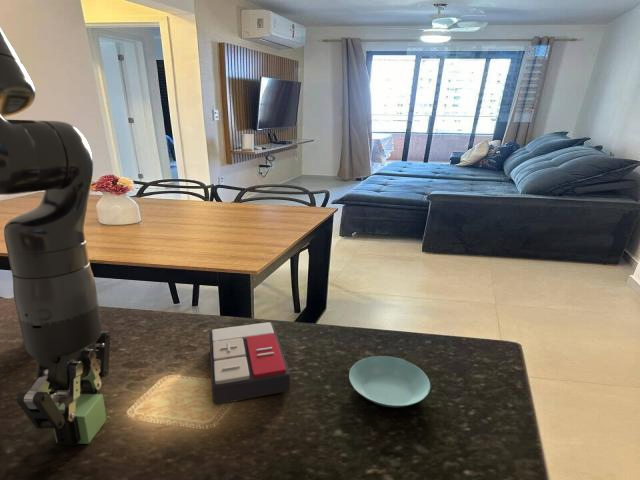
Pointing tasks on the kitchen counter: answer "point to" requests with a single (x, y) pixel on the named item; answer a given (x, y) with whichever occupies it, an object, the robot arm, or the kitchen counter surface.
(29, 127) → the robot arm
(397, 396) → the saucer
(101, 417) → the cube
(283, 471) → the kitchen counter surface
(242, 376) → the calculator
